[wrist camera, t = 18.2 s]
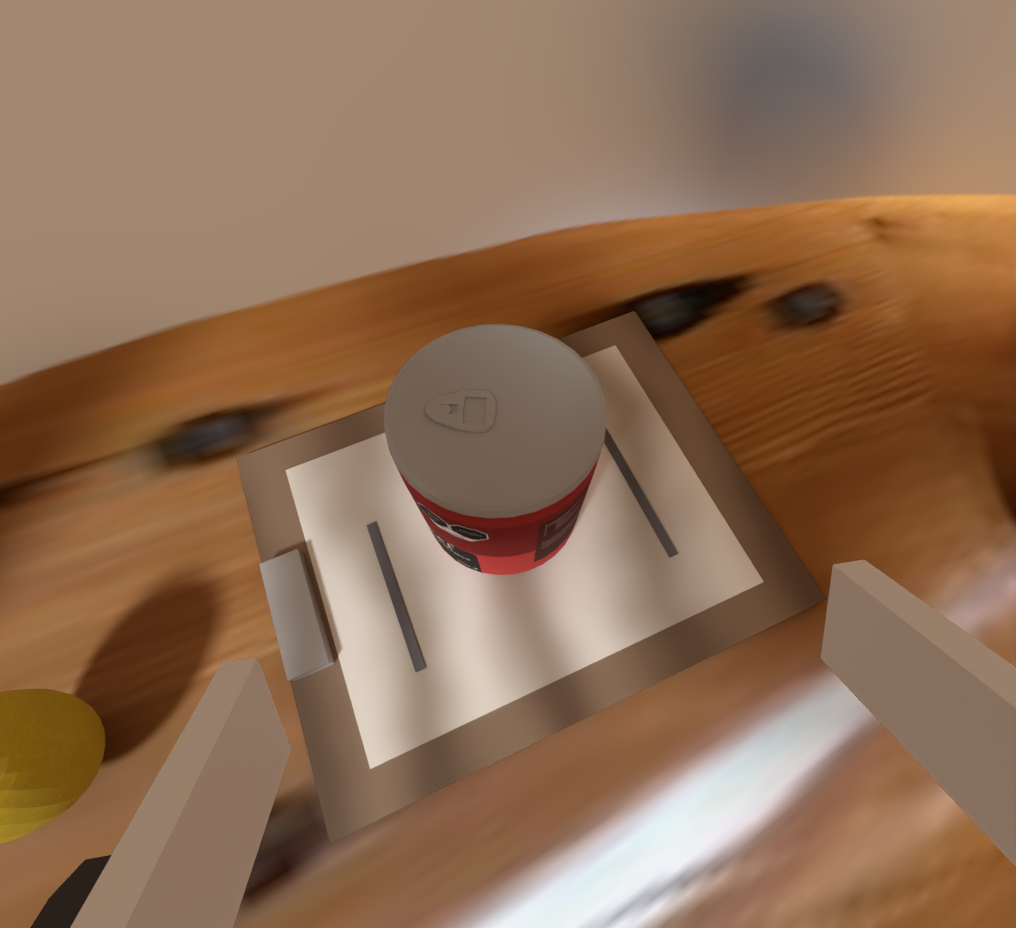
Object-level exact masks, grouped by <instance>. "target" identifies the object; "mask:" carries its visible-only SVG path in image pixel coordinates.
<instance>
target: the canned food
mask: <svg viewBox="0 0 1016 928" xmlns="http://www.w3.org/2000/svg"><path fill="white" fill-rule="evenodd" d="M606 419H607V411H606V404H605V398H604V394H603V391H602V389H601V386H600V384H599V381H598V379H597V377H596V376H595V374H594V373H593V371H592V370H591V368H590V367H589V365H588V364H587V363H586V362H585V361H584V360H583V359H582V358H581V357H580V356H579V355H578V354H577V353H576V352H575V351H574V350H573V349H572V348H570V347H569V346H567V345H566V344H564V343H563V342H561V341H560V340H558V339H556V338H554V337H552V336H550V335H547V334H545V333H543V332H541V331H538V330H534V329H530V328H527V327H523V326H516V325H507V324H486V325H477V326H472V327H467V328H462V329H459V330H456V331H453V332H451V333H448V334H445V335H443V336H441V337H439V338H437V339H435V340H434V341H432V342H430V343H428V344H427V345H425V346H424V347H422V348H421V349H420V350H419V351H418V352H416V353H415V354H414V355H413V356H412V357H410V359H409V360H408V361H407V362H406V363H405V365H404V366H403V367H402V368H401V369H400V371H399V372H398V373H397V375H396V377H395V379H394V381H393V383H392V385H391V387H390V388H389V392H388V395H387V399H386V403H385V406H384V429H385V434H386V439H387V444H388V448H389V451H390V454H391V456H392V458H393V460H394V463H395V465H396V467H397V469H398V471H399V473H400V475H401V477H402V480H403V481H404V483H405V485H406V487H407V489H408V490H409V492H410V494H411V496H412V498H413V499H414V501H415V503H416V505H417V507H418V508H419V510H420V512H421V514H422V515H423V517H424V519H425V521H426V523H427V524H428V526H429V528H430V530H431V532H432V533H433V535H434V537H435V539H436V540H437V542H438V543H439V544H440V546H441V547H442V548H443V550H444V551H445V552H446V553H447V554H448V555H450V556H451V557H452V558H453V559H454V560H455V561H457V562H459V563H460V564H462V565H464V566H466V567H467V568H470V569H473V570H475V571H478V572H481V573H486V574H493V575H512V574H518V573H522V572H526V571H529V570H532V569H534V568H536V567H538V566H540V565H543V564H544V563H545V562H547V561H548V560H550V559H551V558H552V557H554V556H555V555H556V554H557V553H558V552H559V551H560V550H561V549H562V548H563V546H564V545H565V544H566V542H567V540H568V539H569V537H570V535H571V534H572V532H573V529H574V526H575V523H576V521H577V518H578V515H579V513H580V510H581V507H582V504H583V502H584V499H585V496H586V493H587V491H588V488H589V485H590V483H591V480H592V477H593V474H594V472H595V469H596V466H597V463H598V460H599V457H600V454H601V450H602V447H603V444H604V441H605V430H606Z"/></svg>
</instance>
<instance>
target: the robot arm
mask: <svg viewBox="0 0 1016 928" xmlns="http://www.w3.org/2000/svg"><path fill="white" fill-rule="evenodd" d="M820 659H821V660H822V661H823V662H824V663H825V664H826V665H827V666H828V667H829V668H830V669H831V670H832V671H833V672H834V673H835V675H836V676H837V677H838V678H839V679H840V680H841V681H842V682H843V683H844V684H845V685H846V686H847V687H848V688H849V689H850V691H851V692H852V693H853V694H854V695H855V696H856V697H857V698H858V699H859V700H860V701H861V702H862V703H863V704H864V705H865V707H866V708H867V709H868V710H869V711H870V712H871V713H872V714H873V715H874V716H875V717H876V718H877V719H878V720H879V721H880V722H881V724H882V725H883V726H884V727H885V728H886V729H887V730H888V731H889V732H890V733H891V734H892V735H893V736H894V737H895V738H896V740H897V741H898V742H899V743H900V744H901V745H902V746H903V747H904V748H905V749H906V750H907V751H908V752H909V753H910V754H911V756H912V757H913V758H914V759H915V760H916V761H917V762H918V763H919V764H920V765H921V766H922V767H923V768H924V769H925V770H926V771H927V773H928V774H929V775H930V776H931V777H932V778H933V779H934V780H935V781H936V782H937V783H938V784H939V785H940V786H941V787H942V789H943V790H944V791H945V792H946V793H947V794H948V795H949V796H950V797H951V798H952V799H953V800H954V801H955V802H956V803H957V805H958V806H959V807H960V808H961V809H962V810H963V811H964V812H965V813H966V814H967V815H968V816H969V817H970V818H971V819H972V821H973V822H974V823H975V824H976V825H977V826H978V827H979V828H980V829H981V830H982V831H983V832H984V833H985V834H986V835H987V836H988V838H989V839H990V840H991V841H992V842H993V843H994V844H995V845H996V846H997V847H998V848H999V849H1000V850H1001V851H1002V852H1003V854H1004V855H1005V856H1006V857H1007V858H1008V859H1009V860H1010V861H1011V862H1012V863H1013V864H1014V865H1015V866H1016V667H1014V666H1013V665H1011V664H1010V663H1009V662H1007V661H1006V660H1004V659H1003V658H1002V657H1000V656H999V655H997V654H996V653H995V652H993V651H992V650H990V649H989V648H988V647H986V646H985V645H983V644H982V643H981V642H979V641H978V640H976V639H975V638H974V637H972V636H971V635H969V634H968V633H967V632H965V631H964V630H962V629H961V628H960V627H958V626H957V625H955V624H954V623H953V622H951V621H950V620H948V619H947V618H946V617H944V616H943V615H941V614H940V613H939V612H937V611H936V610H934V609H933V608H932V607H930V606H929V605H927V604H926V603H925V602H923V601H922V600H920V599H919V598H918V597H916V596H915V595H913V594H912V593H911V592H909V591H908V590H906V589H905V588H904V587H902V586H901V585H899V584H898V583H897V582H895V581H894V580H892V579H891V578H890V577H888V576H887V575H885V574H884V573H883V572H881V571H880V570H878V569H877V568H876V567H874V566H873V565H871V564H870V563H869V562H867V561H866V560H858V561H852V562H846V563H840V564H833V567H832V575H831V582H830V590H829V597H828V605H827V613H826V620H825V628H824V635H823V643H822V651H821V658H820ZM290 751H291V748H290V745H289V742H288V739H287V737H286V734H285V731H284V729H283V726H282V723H281V720H280V718H279V715H278V712H277V709H276V707H275V704H274V701H273V699H272V696H271V693H270V690H269V688H268V685H267V682H266V679H265V677H264V674H263V671H262V668H261V666H260V663H259V660H258V658H251V659H245V660H238V661H232V662H226V663H221V665H220V667H219V669H218V670H217V672H216V674H215V676H214V677H213V679H212V681H211V683H210V684H209V686H208V688H207V690H206V691H205V693H204V695H203V697H202V698H201V700H200V702H199V704H198V705H197V707H196V709H195V711H194V712H193V714H192V716H191V718H190V719H189V721H188V723H187V725H186V726H185V728H184V730H183V732H182V733H181V735H180V737H179V739H178V740H177V742H176V744H175V746H174V747H173V749H172V751H171V753H170V754H169V756H168V758H167V760H166V761H165V763H164V765H163V766H162V768H161V770H160V772H159V773H158V775H157V777H156V779H155V780H154V782H153V784H152V786H151V787H150V789H149V791H148V793H147V794H146V796H145V798H144V800H143V801H142V803H141V805H140V807H139V808H138V810H137V812H136V814H135V815H134V817H133V819H132V821H131V822H130V824H129V826H128V828H127V829H126V831H125V833H124V835H123V836H122V838H121V840H120V842H119V843H118V845H117V847H116V849H115V850H114V852H113V854H112V855H109V856H103V857H98V858H92V859H87V860H85V861H84V862H83V863H82V864H81V865H80V866H79V867H78V868H77V869H76V870H75V871H74V872H73V873H72V874H71V876H70V877H69V878H68V879H67V880H66V881H65V882H64V883H63V884H62V885H61V886H60V887H59V888H58V889H57V890H56V891H55V893H54V894H53V895H52V896H51V897H50V898H49V899H48V901H47V903H46V904H45V906H44V907H43V909H42V910H41V912H40V914H39V915H38V917H37V918H36V920H35V921H34V923H33V925H32V926H31V928H233V925H234V922H235V919H236V916H237V913H238V909H239V906H240V903H241V900H242V897H243V894H244V891H245V888H246V885H247V882H248V879H249V876H250V873H251V870H252V867H253V864H254V861H255V858H256V855H257V852H258V848H259V845H260V842H261V839H262V836H263V833H264V830H265V827H266V824H267V821H268V818H269V815H270V812H271V809H272V806H273V803H274V800H275V797H276V794H277V791H278V788H279V784H280V781H281V778H282V775H283V772H284V769H285V766H286V763H287V760H288V757H289V754H290Z"/></svg>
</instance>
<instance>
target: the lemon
mask: <svg viewBox="0 0 1016 928" xmlns="http://www.w3.org/2000/svg"><path fill="white" fill-rule="evenodd" d="M104 750H105V730H104V727H103V724H102V721H101V719H100V717H99V716H98V715H97V713H96V712H95V711H94V709H93V708H92V707H91V706H90V705H89V704H87V703H86V702H84V701H83V700H81V699H80V698H78V697H76V696H74V695H71V694H67V693H63V692H59V691H55V690H49V689H26V690H12V691H6V692H1V693H0V844H1V843H5V842H8V841H11V840H14V839H16V838H19V837H21V836H23V835H25V834H27V833H30V832H32V831H34V830H36V829H38V828H40V827H42V826H44V825H46V824H47V823H49V822H50V821H52V820H53V819H55V818H56V817H57V816H59V815H60V814H61V813H63V812H64V811H65V810H67V809H68V808H69V807H70V806H72V805H73V804H74V803H75V802H76V800H77V799H78V798H79V797H80V796H81V795H82V794H83V793H84V792H85V791H86V789H87V788H88V787H89V785H90V784H91V782H92V780H93V779H94V777H95V776H96V774H97V772H98V770H99V767H100V765H101V762H102V760H103V755H104Z"/></svg>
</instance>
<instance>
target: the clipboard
mask: <svg viewBox="0 0 1016 928" xmlns="http://www.w3.org/2000/svg"><path fill="white" fill-rule="evenodd" d="M558 340H560V341H561V342H563V343H564V344H566V345H567V346H569V347H570V348H572V349H573V350H574V351H575V352H576V353H577V354H578V355H579V356H580V357H581V358H582V359H583V360H584V361H585V362H586V363H587V364H588V365H589V367H590V368H591V370H592V371H593V373H594V374H595V376H596V377H597V379H598V381H599V384H600V386H601V389H602V391H603V394H604V398H605V404H606V411H607V419H606V430H605V441H604V444H603V447H602V450H601V454H600V457H599V460H598V463H597V466H596V469H595V472H594V474H593V477H592V480H591V483H590V485H589V488H588V491H587V493H586V496H585V499H584V502H583V504H582V507H581V510H580V513H579V515H578V518H577V521H576V523H575V526H574V529H573V532H572V534H571V535H570V537H569V539H568V540H567V542H566V544H565V545H564V546H563V548H562V549H561V550H560V551H559V552H558V553H557V554H556V555H555V556H554V557H552V558H551V559H550V560H548V561H547V562H545V563H544V564H543V565H540V566H538V567H536V568H534V569H532V570H529V571H526V572H522V573H518V574H512V575H493V574H486V573H481V572H478V571H475V570H473V569H470V568H467V567H466V566H464V565H462V564H460V563H459V562H457V561H455V560H454V559H453V558H452V557H451V556H450V555H448V554H447V553H446V552H445V551H444V550H443V548H442V547H441V546H440V544H439V543H438V542H437V540H436V539H435V537H434V535H433V533H432V532H431V530H430V528H429V526H428V524H427V523H426V521H425V519H424V517H423V515H422V514H421V512H420V510H419V508H418V507H417V505H416V503H415V501H414V499H413V498H412V496H411V494H410V492H409V490H408V489H407V487H406V485H405V483H404V481H403V480H402V477H401V475H400V473H399V471H398V469H397V467H396V465H395V463H394V460H393V458H392V456H391V454H390V451H389V448H388V444H387V439H386V434H385V429H384V406H385V403H384V404H381V405H379V406H376V407H373V408H371V409H368V410H365V411H363V412H360V413H357V414H354V415H352V416H349V417H346V418H344V419H341V420H338V421H335V422H333V423H330V424H327V425H325V426H322V427H319V428H317V429H314V430H311V431H308V432H306V433H303V434H300V435H298V436H295V437H292V438H290V439H287V440H284V441H281V442H279V443H276V444H273V445H271V446H268V447H265V448H263V449H260V450H257V451H254V452H252V453H249V454H246V455H244V456H241V457H238V458H236V460H237V464H238V468H239V472H240V477H241V481H242V485H243V489H244V493H245V497H246V501H247V505H248V509H249V513H250V518H251V522H252V526H253V530H254V534H255V538H256V542H257V546H258V550H259V554H260V558H261V564H259V565H260V569H261V573H262V578H263V582H264V586H265V590H266V594H267V598H268V602H269V606H270V611H271V615H272V619H273V623H274V627H275V631H276V635H277V639H278V644H279V648H280V652H281V656H282V660H283V664H284V668H285V672H286V677H287V681H291V685H292V689H293V693H294V698H295V702H296V706H297V710H298V714H299V718H300V722H301V726H302V730H303V734H304V739H305V743H306V747H307V751H308V755H309V759H310V763H311V767H312V771H313V775H314V779H315V784H316V788H317V792H318V796H319V800H320V804H321V808H322V812H323V816H324V820H325V824H326V829H327V833H328V837H329V841H330V843H332V842H334V841H336V840H338V839H340V838H342V837H344V836H346V835H348V834H350V833H352V832H354V831H356V830H358V829H360V828H362V827H364V826H366V825H368V824H371V823H373V822H375V821H377V820H379V819H381V818H383V817H385V816H387V815H389V814H391V813H393V812H395V811H397V810H399V809H401V808H403V807H405V806H407V805H409V804H411V803H413V802H415V801H417V800H419V799H421V798H423V797H425V796H427V795H430V794H432V793H434V792H436V791H438V790H440V789H442V788H444V787H446V786H448V785H450V784H452V783H454V782H456V781H458V780H460V779H462V778H464V777H466V776H468V775H470V774H472V773H474V772H476V771H478V770H480V769H482V768H484V767H487V766H489V765H491V764H493V763H495V762H497V761H499V760H501V759H503V758H505V757H507V756H509V755H511V754H513V753H515V752H517V751H519V750H521V749H523V748H525V747H527V746H529V745H531V744H533V743H535V742H537V741H539V740H541V739H543V738H546V737H548V736H550V735H552V734H554V733H556V732H558V731H560V730H562V729H564V728H566V727H568V726H570V725H572V724H574V723H576V722H578V721H580V720H582V719H584V718H586V717H588V716H590V715H592V714H594V713H596V712H598V711H600V710H603V709H605V708H607V707H609V706H611V705H613V704H615V703H617V702H619V701H621V700H623V699H625V698H627V697H629V696H631V695H633V694H635V693H637V692H639V691H641V690H643V689H645V688H647V687H649V686H651V685H653V684H655V683H657V682H659V681H662V680H664V679H666V678H668V677H670V676H672V675H674V674H676V673H678V672H680V671H682V670H684V669H686V668H688V667H690V666H692V665H694V664H696V663H698V662H700V661H702V660H704V659H706V658H708V657H710V656H712V655H714V654H716V653H718V652H721V651H723V650H725V649H727V648H729V647H731V646H733V645H735V644H737V643H739V642H741V641H743V640H745V639H747V638H749V637H751V636H753V635H755V634H757V633H759V632H761V631H763V630H765V629H767V628H769V627H771V626H773V625H775V624H778V623H780V622H782V621H784V620H786V619H788V618H790V617H792V616H794V615H796V614H798V613H800V612H802V611H804V610H806V609H808V608H810V607H812V606H814V605H816V604H818V603H820V602H822V601H824V600H826V597H825V596H824V594H823V593H822V591H821V590H820V588H819V587H818V585H817V584H816V582H815V581H814V579H813V578H812V576H811V575H810V573H809V572H808V570H807V569H806V567H805V566H804V564H803V563H802V561H801V560H800V558H799V557H798V555H797V554H796V552H795V551H794V549H793V548H792V546H791V545H790V543H789V542H788V540H787V539H786V537H785V536H784V534H783V533H782V531H781V530H780V528H779V527H778V525H777V524H776V522H775V521H774V519H773V518H772V516H771V515H770V513H769V512H768V510H767V509H766V507H765V506H764V504H763V503H762V501H761V500H760V498H759V497H758V495H757V494H756V492H755V491H754V489H753V488H752V486H751V485H750V483H749V482H748V480H747V479H746V477H745V476H744V474H743V473H742V471H741V470H740V468H739V467H738V465H737V464H736V462H735V461H734V459H733V458H732V456H731V455H730V453H729V452H728V450H727V449H726V447H725V446H724V444H723V443H722V441H721V440H720V438H719V437H718V435H717V434H716V432H715V431H714V429H713V428H712V426H711V425H710V423H709V422H708V420H707V419H706V417H705V416H704V414H703V413H702V411H701V410H700V408H699V407H698V405H697V404H696V402H695V401H694V399H693V398H692V396H691V395H690V393H689V392H688V390H687V389H686V387H685V386H684V384H683V383H682V381H681V380H680V378H679V377H678V375H677V374H676V372H675V371H674V369H673V368H672V366H671V365H670V363H669V362H668V360H667V359H666V357H665V356H664V354H663V353H662V351H661V350H660V348H659V347H658V345H657V344H656V342H655V341H654V339H653V338H652V336H651V335H650V333H649V332H648V330H647V329H646V327H645V326H644V324H643V323H642V321H641V320H640V318H639V317H638V315H637V314H636V312H635V311H633V312H630V313H627V314H625V315H622V316H619V317H617V318H614V319H611V320H608V321H606V322H603V323H600V324H598V325H595V326H592V327H589V328H587V329H584V330H581V331H579V332H576V333H573V334H571V335H568V336H565V337H562V338H560V339H558Z"/></svg>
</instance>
